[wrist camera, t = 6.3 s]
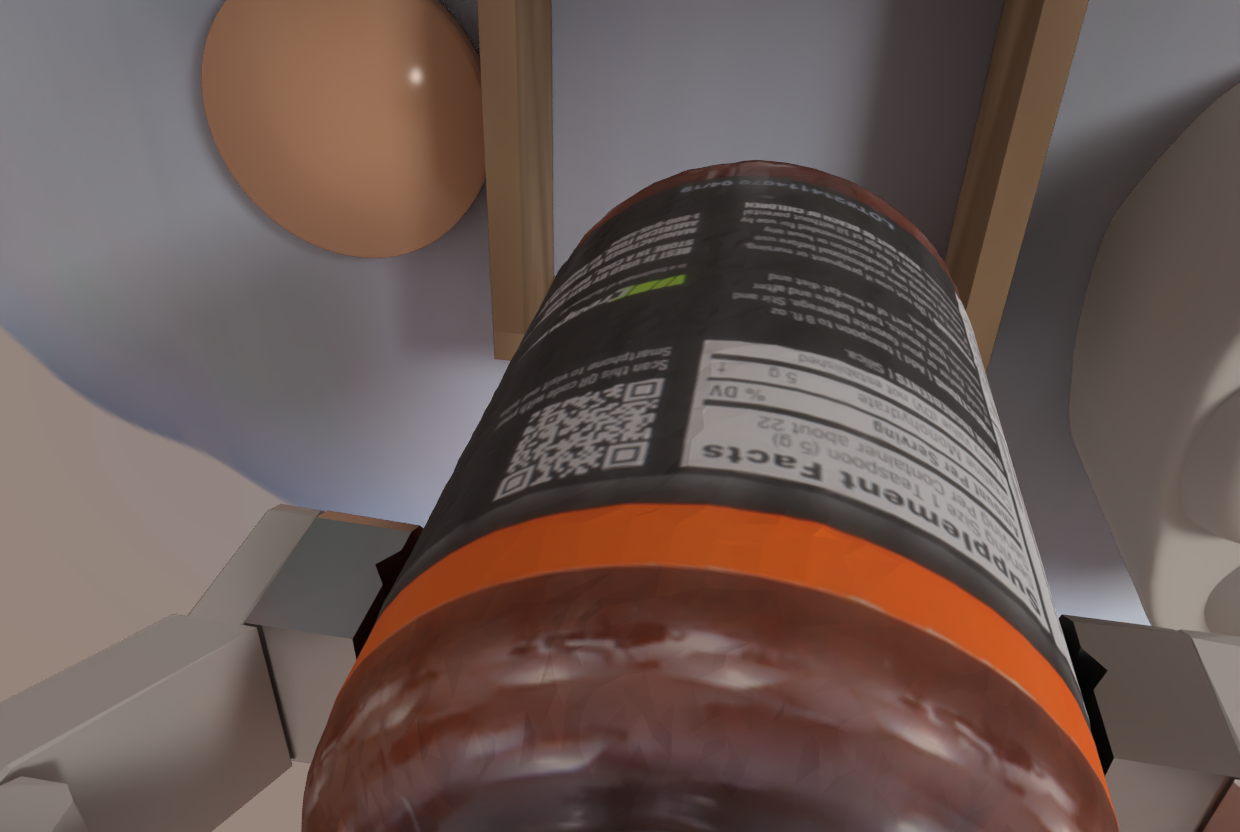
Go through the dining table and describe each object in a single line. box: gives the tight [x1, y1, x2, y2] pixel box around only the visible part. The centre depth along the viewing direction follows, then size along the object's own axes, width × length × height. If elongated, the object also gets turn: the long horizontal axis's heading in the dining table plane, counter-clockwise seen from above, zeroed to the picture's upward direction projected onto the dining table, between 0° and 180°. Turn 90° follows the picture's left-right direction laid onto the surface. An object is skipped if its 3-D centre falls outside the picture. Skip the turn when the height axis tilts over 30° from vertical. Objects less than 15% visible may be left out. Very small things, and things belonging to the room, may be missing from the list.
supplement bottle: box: [302, 160, 1119, 832], centre depth 9 cm, size 6×6×11 cm
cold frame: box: [477, 0, 1089, 373], centre depth 17 cm, size 12×16×14 cm
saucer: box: [201, 0, 486, 258], centre depth 25 cm, size 8×8×1 cm
